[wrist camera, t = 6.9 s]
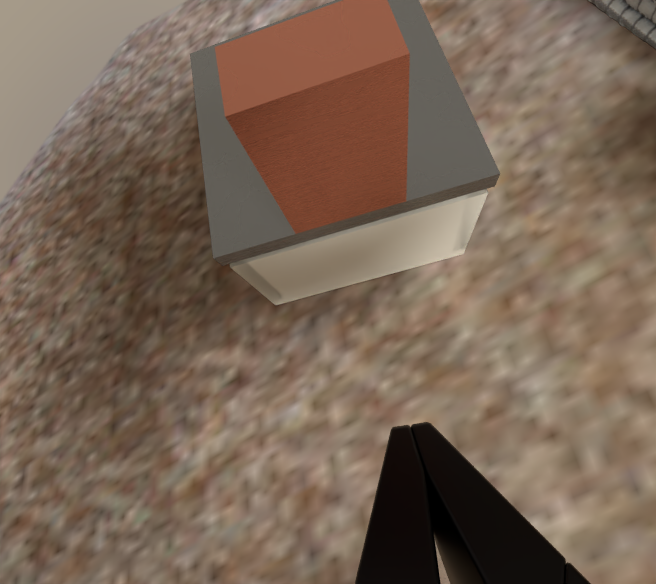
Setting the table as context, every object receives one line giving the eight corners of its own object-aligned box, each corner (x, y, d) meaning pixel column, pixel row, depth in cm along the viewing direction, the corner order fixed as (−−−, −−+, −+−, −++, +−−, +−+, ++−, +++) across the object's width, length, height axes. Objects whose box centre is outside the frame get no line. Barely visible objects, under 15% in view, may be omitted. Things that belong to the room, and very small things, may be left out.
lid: (494, 186, 14) (573, -3, 7) (222, 265, 15) (93, 161, 9) (406, -8, 18) (409, -235, 12) (198, 67, 19) (98, -101, 13)
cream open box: (463, 254, 20) (487, 192, 14) (275, 305, 21) (230, 267, 15) (402, 96, 24) (402, 0, 18) (248, 146, 25) (204, 71, 19)
